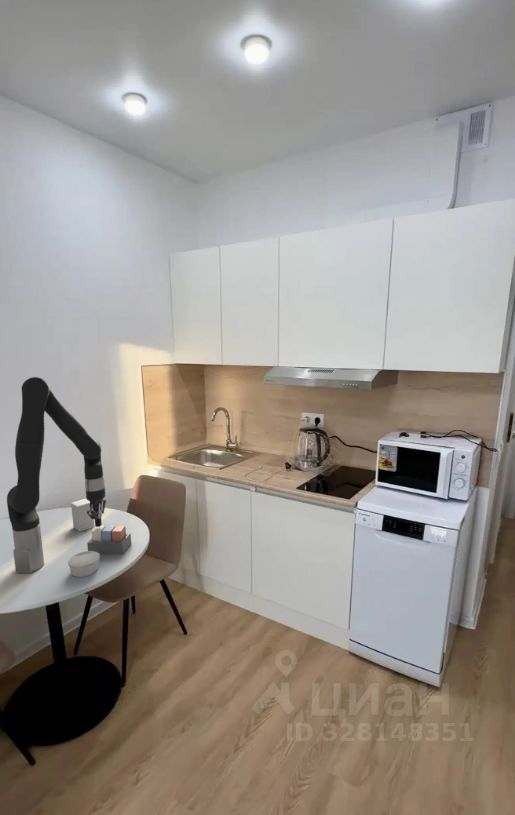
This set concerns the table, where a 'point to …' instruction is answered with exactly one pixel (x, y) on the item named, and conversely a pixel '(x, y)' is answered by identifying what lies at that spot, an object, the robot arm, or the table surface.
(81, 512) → the supplement box
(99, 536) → the ivory key
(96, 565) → the ramekin
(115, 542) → the dark grey tray
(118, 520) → the table surface
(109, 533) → the slate blue key
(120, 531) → the pink block
